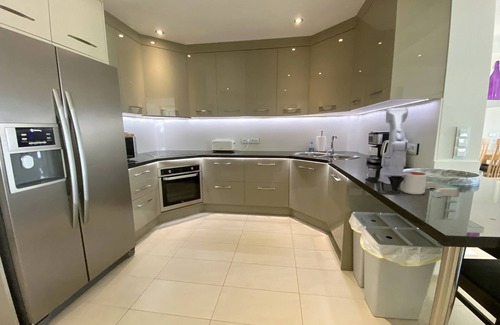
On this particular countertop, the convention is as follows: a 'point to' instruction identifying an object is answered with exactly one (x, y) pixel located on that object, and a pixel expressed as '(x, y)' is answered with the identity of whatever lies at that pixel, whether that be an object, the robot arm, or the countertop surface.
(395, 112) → the robot arm
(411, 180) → the cup
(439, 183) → the end holder
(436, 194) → the clip post
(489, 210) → the countertop surface
